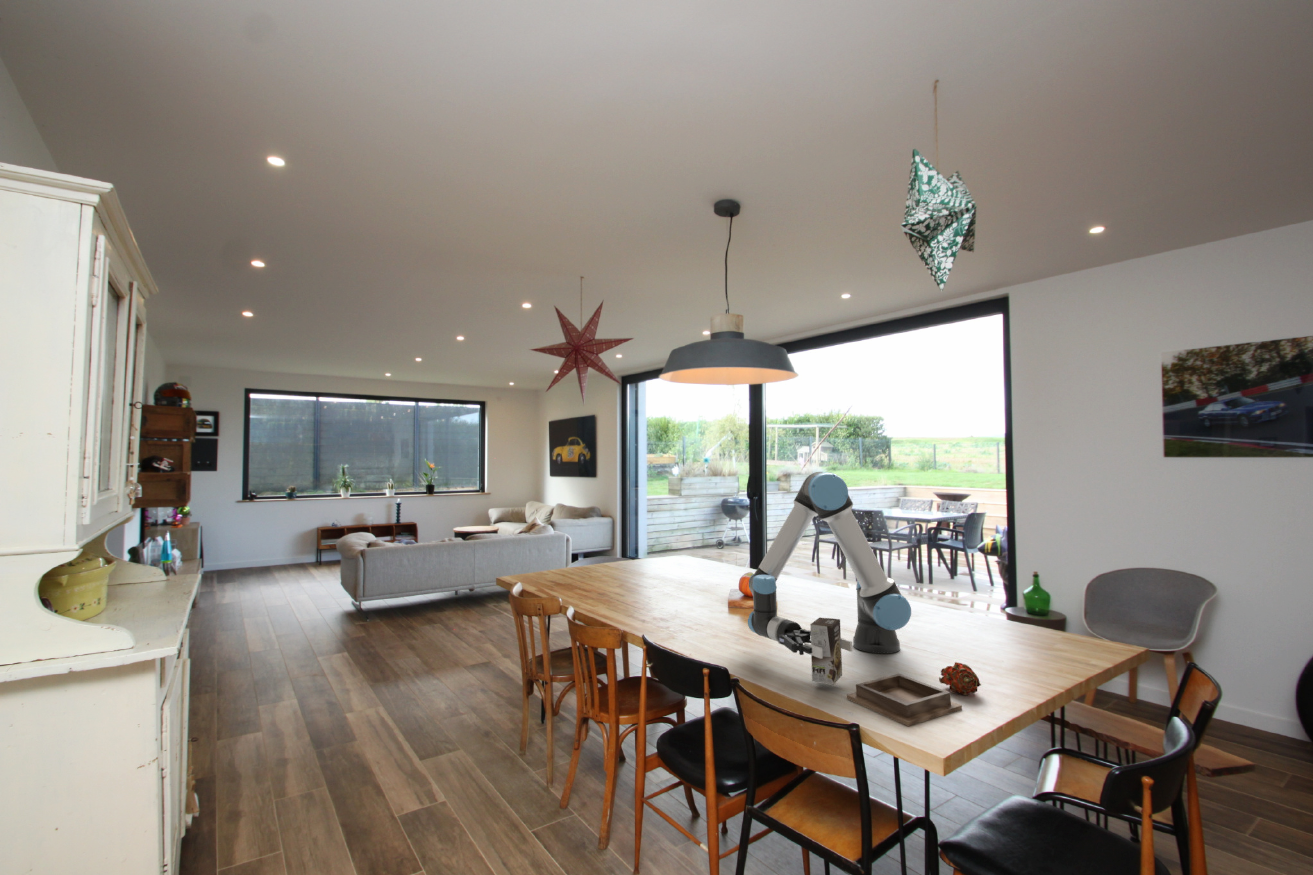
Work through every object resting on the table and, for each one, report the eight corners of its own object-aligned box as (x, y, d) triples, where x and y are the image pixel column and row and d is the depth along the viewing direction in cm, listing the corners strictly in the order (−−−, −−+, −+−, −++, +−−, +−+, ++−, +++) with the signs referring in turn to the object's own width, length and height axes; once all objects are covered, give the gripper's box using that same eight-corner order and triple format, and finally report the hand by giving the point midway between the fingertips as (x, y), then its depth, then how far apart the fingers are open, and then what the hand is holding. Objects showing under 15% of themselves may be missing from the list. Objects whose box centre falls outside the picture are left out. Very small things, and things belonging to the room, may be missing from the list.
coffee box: (834, 685, 168) (832, 626, 169) (811, 681, 171) (809, 623, 172) (843, 675, 176) (841, 618, 176) (821, 671, 179) (819, 616, 180)
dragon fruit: (977, 707, 161) (943, 697, 172) (994, 684, 164) (960, 676, 175) (958, 682, 161) (926, 674, 172) (976, 659, 164) (943, 653, 175)
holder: (898, 684, 174) (897, 670, 174) (961, 709, 156) (961, 693, 156) (846, 698, 164) (846, 683, 165) (908, 726, 147) (907, 709, 147)
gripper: (813, 637, 195) (867, 656, 175) (755, 650, 184) (805, 671, 165) (812, 614, 195) (865, 630, 176) (754, 625, 184) (804, 643, 165)
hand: (836, 649), depth 170 cm, fingers closed on coffee box, 11 cm apart
